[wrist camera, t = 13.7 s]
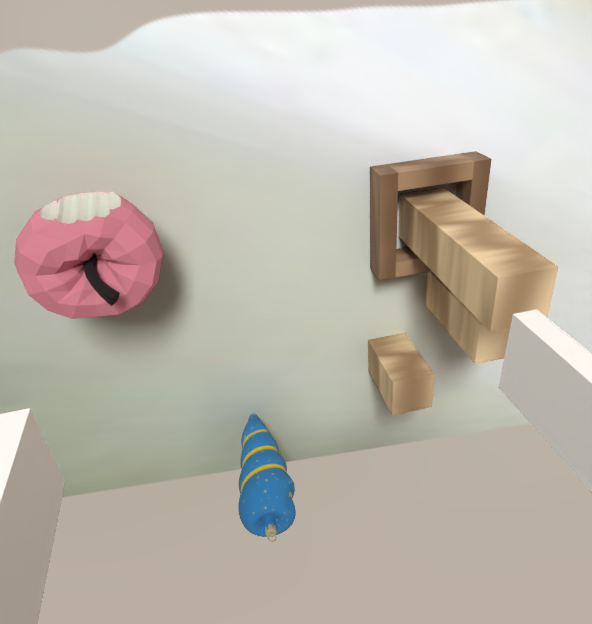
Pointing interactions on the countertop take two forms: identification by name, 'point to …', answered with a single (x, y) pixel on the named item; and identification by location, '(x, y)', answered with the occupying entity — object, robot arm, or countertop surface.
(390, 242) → the collar block
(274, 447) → the ornament
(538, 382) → the robot arm
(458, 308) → the medium pin
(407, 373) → the short pin
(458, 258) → the long pin
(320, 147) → the countertop surface
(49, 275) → the apple
